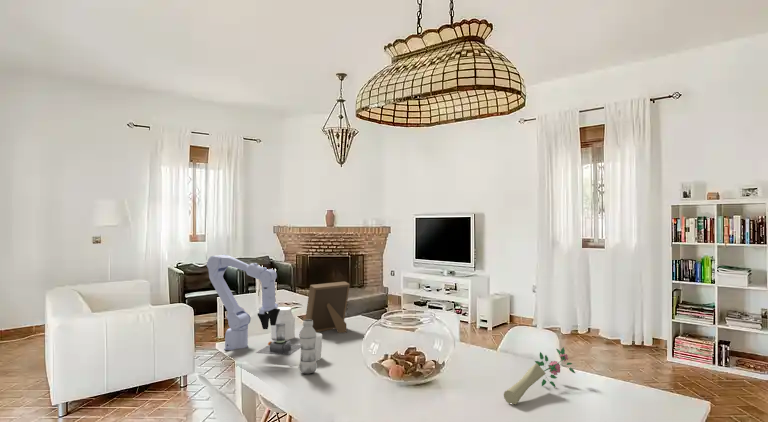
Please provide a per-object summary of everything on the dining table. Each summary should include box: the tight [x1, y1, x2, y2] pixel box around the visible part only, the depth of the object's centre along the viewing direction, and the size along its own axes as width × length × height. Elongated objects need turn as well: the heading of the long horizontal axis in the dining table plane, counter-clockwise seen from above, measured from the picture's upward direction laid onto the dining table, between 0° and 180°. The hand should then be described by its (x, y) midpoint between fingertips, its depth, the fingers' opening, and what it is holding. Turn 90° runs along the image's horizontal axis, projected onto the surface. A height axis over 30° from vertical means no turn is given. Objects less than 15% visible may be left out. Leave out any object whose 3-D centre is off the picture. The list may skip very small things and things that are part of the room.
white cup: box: [315, 332, 323, 361], centre depth 205 cm, size 8×8×10 cm
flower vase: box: [503, 347, 576, 405], centre depth 167 cm, size 12×12×35 cm
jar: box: [270, 306, 296, 341], centre depth 237 cm, size 12×10×15 cm
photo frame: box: [304, 281, 351, 334], centre depth 252 cm, size 15×22×25 cm
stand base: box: [255, 339, 301, 356], centre depth 215 cm, size 16×16×4 cm
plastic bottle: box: [298, 319, 318, 375], centre depth 186 cm, size 6×7×20 cm
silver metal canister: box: [275, 323, 285, 344], centre depth 215 cm, size 4×4×8 cm
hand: (269, 327), depth 217 cm, fingers open, 7 cm apart
